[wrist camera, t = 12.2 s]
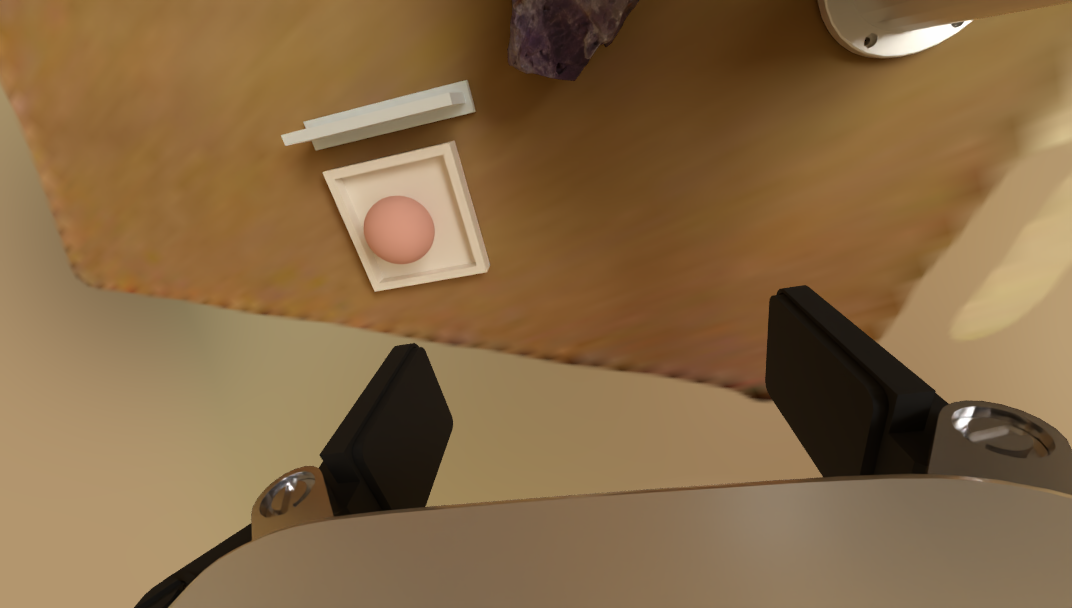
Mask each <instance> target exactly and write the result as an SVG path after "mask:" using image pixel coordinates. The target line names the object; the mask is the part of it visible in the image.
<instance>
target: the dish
mask: <svg viewBox="0 0 1072 608" xmlns="http://www.w3.org/2000/svg"><path fill="white" fill-rule="evenodd" d="M322 173H323V175H324V177H325V180H326V182H327V184H328V186H329V189H330V191H331V193H332V195H333V198H334V200H335V202H336V205H337V207H338V209H339V211H340V214H341V216H342V218H343V221H344V223H345V225H346V227H347V230H348V232H349V234H350V237H351V239H352V241H353V243H354V246H355V248H356V250H357V252H358V255H359V257H360V259H361V262H362V264H363V266H364V268H365V271H366V273H367V275H368V278H369V280H370V282H371V284H372V287H373V289H374V291H375V292H376V291H382V290H387V289H393V288H399V287H405V286H410V285H416V284H422V283H428V282H433V281H439V280H445V279H451V278H456V277H462V276H468V275H474V274H479V273H485V272H487V271H488V269H489V267H490V263H489V259H488V256H487V252H486V249H485V245H484V242H483V238H482V235H481V231H480V228H479V224H478V221H477V217H476V214H475V210H474V207H473V203H472V200H471V196H470V193H469V189H468V186H467V182H466V179H465V175H464V172H463V168H462V165H461V161H460V158H459V154H458V151H457V147H456V144H455V140H454V141H450V142H446V143H441V144H437V145H433V146H429V147H424V148H420V149H416V150H411V151H407V152H403V153H399V154H394V155H390V156H386V157H381V158H377V159H373V160H368V161H364V162H360V163H356V164H351V165H347V166H343V167H338V168H334V169H331V170H328V171H325V172H322ZM389 196H405V197H409V198H411V199H414V200H416V201H417V202H419V203H420V204H421V205H423V206H424V207H425V208H426V210H427V211H428V212H429V214H430V216H431V217H432V220H433V223H434V228H435V236H434V241H433V244H432V246H431V248H430V249H429V251H428V252H427V253H426V254H425V255H424V256H423V257H422V258H421V259H419V260H417V261H415V262H412V263H408V264H394V263H390V262H387V261H385V260H383V259H381V258H380V257H378V256H377V255H376V254H375V253H374V252H373V251H372V250H371V249H370V247H369V246H368V244H367V242H366V239H365V236H364V220H365V217H366V215H367V213H368V211H369V210H370V208H371V207H372V206H373V205H374V204H375V203H376V202H378V201H379V200H381V199H383V198H386V197H389Z"/></svg>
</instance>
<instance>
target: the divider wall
mask: <svg viewBox="0 0 1072 608" xmlns="http://www.w3.org/2000/svg"><path fill="white" fill-rule="evenodd" d="M473 112H476V110H475V106H474V102H473V98H472V95H471V91H470V87H469V83H468V80H464V81H460V82H456V83H453V84H449V85H445V86H441V87H437V88H433V89H429V90H425V91H421V92H418V93H414V94H410V95H406V96H402V97H398V98H394V99H390V100H387V101H383V102H379V103H375V104H371V105H367V106H363V107H359V108H355V109H352V110H348V111H344V112H340V113H336V114H332V115H328V116H324V117H321V118H317V119H313V120H309V121H305V122H303V123H304V125H305V127H306V129H303V130H299V131H295V132H291V133H288V134H284V135H281V137H282V139H283V141H284V143H285V146H288V145H293V144H298V143H304V142H309V141H312V143H313V146H314V148H315V150H320V149H325V148H329V147H333V146H337V145H341V144H345V143H349V142H353V141H358V140H362V139H366V138H370V137H374V136H378V135H382V134H386V133H390V132H395V131H399V130H403V129H407V128H411V127H415V126H419V125H423V124H427V123H432V122H436V121H440V120H444V119H448V118H452V117H456V116H460V115H465V114H469V113H473Z"/></svg>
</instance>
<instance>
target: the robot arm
mask: <svg viewBox="0 0 1072 608" xmlns="http://www.w3.org/2000/svg"><path fill="white" fill-rule="evenodd" d="M1070 2H1072V0H818V5H819V9H820V13H821V17H822V19H823V21H824V23H825V25H826V27H827V29H828V31H829V33H830V34H831V35H832V36H833V38H834V39H835V40H836V41H837V42H838V43H839V44H840V45H841V46H843V47H844V48H846V49H847V50H849V51H850V52H852V53H855V54H858V55H861V56H864V57H869V58H882V59H884V58H894V57H902V56H906V55H911V54H915V53H919V52H921V51H924V50H926V49H929V48H931V47H934V46H936V45H938V44H940V43H942V42H943V41H945V40H947V39H948V38H950V37H952V36H953V35H955V34H957V33H958V32H959V31H961V30H962V29H963V28H964V27H966V26H967V25H968V24H970V23H971V22H972V21H974V20H975V19H980V18H986V17H992V16H997V15H1003V14H1008V13H1014V12H1020V11H1025V10H1031V9H1036V8H1042V7H1048V6H1053V5H1059V4H1065V3H1070ZM865 39H866V43H865V44H864V41H865ZM765 383H766V388H767V391H768V393H769V395H770V397H771V398H772V400H773V401H774V403H775V404H776V406H777V407H778V409H779V410H780V412H781V413H782V415H783V416H784V418H785V419H786V421H787V422H788V424H789V425H790V427H791V428H792V430H793V432H794V433H795V435H796V436H797V438H798V439H799V441H800V442H801V444H802V445H803V447H804V448H805V450H806V451H807V453H808V454H809V456H810V457H811V459H812V460H813V462H814V464H815V465H816V467H817V468H818V470H819V471H820V473H821V474H822V476H823V477H822V478H807V479H790V480H773V481H760V482H745V483H731V484H717V485H704V486H689V487H675V488H660V489H647V490H634V491H620V492H607V493H595V494H582V495H568V496H556V497H543V498H529V499H517V500H505V501H493V502H481V503H468V504H457V505H444V506H432V507H425V506H426V503H427V500H428V498H429V495H430V492H431V489H432V486H433V483H434V480H435V477H436V475H437V472H438V469H439V466H440V463H441V460H442V457H443V454H444V451H445V449H446V446H447V443H448V440H449V437H450V434H451V432H452V428H453V419H452V415H451V413H450V411H449V408H448V406H447V403H446V401H445V398H444V396H443V393H442V391H441V388H440V386H439V383H438V381H437V378H436V376H435V373H434V371H433V369H432V366H431V364H430V361H429V359H428V356H427V354H426V351H425V350H424V349H423V348H422V347H419V346H418V345H417V344H415V343H413V344H406V345H399V346H395V347H394V348H393V349H392V351H391V352H390V353H389V355H388V356H387V358H386V359H385V361H384V362H383V364H382V365H381V367H380V368H379V370H378V371H377V372H376V374H375V375H374V377H373V378H372V379H371V381H370V382H369V384H368V385H367V387H366V389H365V390H364V391H363V393H362V394H361V395H360V397H359V398H358V400H357V401H356V403H355V404H354V406H353V407H352V409H351V410H350V411H349V413H348V415H347V416H346V417H345V419H344V420H343V422H342V423H341V424H340V426H339V427H338V429H337V430H336V432H335V434H334V435H333V436H332V438H331V439H330V441H329V442H328V443H327V445H326V446H325V448H324V449H323V451H322V452H321V454H320V456H321V458H322V459H323V462H322V464H321V466H320V467H319V468H317V467H314V466H304V467H301V468H297V469H294V470H292V471H290V472H288V473H286V474H284V475H282V476H281V477H279V478H278V479H276V480H275V481H274V482H273V483H271V484H270V485H269V486H268V487H267V488H266V489H265V490H264V491H263V492H262V493H261V495H260V496H259V497H258V498H257V500H256V502H255V504H254V505H253V508H252V514H251V522H252V523H251V524H249V525H248V526H246V527H245V528H243V529H242V530H240V531H239V532H237V533H236V534H234V535H232V536H231V537H229V538H228V539H226V540H225V541H223V542H222V543H220V544H219V545H217V546H216V547H214V548H213V549H211V550H209V551H208V552H206V553H205V554H203V555H202V556H200V557H199V558H197V559H196V560H194V561H192V562H191V563H189V564H188V565H186V566H185V567H183V568H182V569H180V570H179V571H177V572H176V573H174V574H172V575H171V576H169V577H168V578H166V579H165V580H164V581H163V582H161V583H159V584H158V585H156V586H155V587H153V588H152V589H151V590H150V591H149V592H148V593H146V594H145V595H144V596H143V597H142V599H141V600H140V601H139V602H138V604H137V605H136V606H135V607H134V608H1072V449H1071V447H1070V445H1069V443H1068V441H1067V439H1066V438H1065V437H1064V436H1063V435H1062V434H1061V433H1060V432H1059V431H1058V430H1057V429H1056V428H1054V427H1052V426H1051V425H1049V424H1048V423H1046V422H1045V421H1043V420H1041V419H1040V418H1037V417H1035V416H1033V415H1031V414H1028V413H1026V412H1024V411H1021V410H1018V409H1015V408H1011V407H1008V406H1005V405H1002V404H996V403H991V402H984V401H960V402H954V403H951V404H948V403H947V402H946V401H944V400H943V399H942V398H941V397H940V396H939V395H937V394H936V393H935V390H934V389H933V388H931V387H930V386H929V385H928V384H927V383H925V382H924V381H923V380H922V379H920V378H919V377H918V376H917V375H916V374H914V373H913V372H912V371H911V370H909V369H908V368H907V367H906V366H904V365H903V364H902V363H901V362H900V361H898V360H897V359H896V358H895V357H894V356H892V355H891V354H890V353H889V352H887V351H886V350H885V349H884V348H883V347H881V346H880V345H879V344H878V343H876V342H875V341H874V340H873V339H872V338H870V337H869V336H868V335H867V334H865V333H864V332H863V331H862V330H861V329H859V328H858V327H857V326H856V325H854V324H853V323H852V322H851V321H850V320H848V319H847V318H846V317H845V316H843V315H842V314H841V313H840V312H839V311H837V310H836V309H835V308H834V307H832V306H831V305H830V304H829V303H828V302H826V301H825V300H824V299H823V298H821V297H820V296H819V295H818V294H817V293H815V292H814V291H813V290H812V289H810V288H809V287H808V286H806V285H803V286H796V287H790V288H783V289H779V290H778V292H777V295H774V296H771V298H770V302H769V320H768V339H767V358H766V377H765Z"/></svg>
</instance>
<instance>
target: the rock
mask: <svg viewBox="0 0 1072 608" xmlns="http://www.w3.org/2000/svg"><path fill="white" fill-rule="evenodd" d="M638 2H639V0H512V17H511V22H510V42H509V47H508V49H507V50H508V63H509V65H511V66H513V67H515V68H516V69H518V70H520V71H522V72H524V73H527V74H528V73H535V74H538V75H542V76H545V77H549V78H554V79H562V80H571V81H575V80H576V78H577V77H578V76H579V75H580V73H581V71H582V70H583V69H584V67H585V66H586V65H587V64H588V62H589V60H590V58H591V57H592V55H593V54H594V53H595V51H596V49H597V48H598V47H599V46H600V45H602V44H604V45H605V47H607V46H608V45H610V44H611V43H612V41H613V39H614V38H615V36H616V35H617V33H618V32H619V30H620V29H621V27H622V25H623V23H624V21H625V19H626V17H627V16H628V15H629V13H630V12H631V10H633V9H634V7H635V6H636V5H637V3H638Z"/></svg>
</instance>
